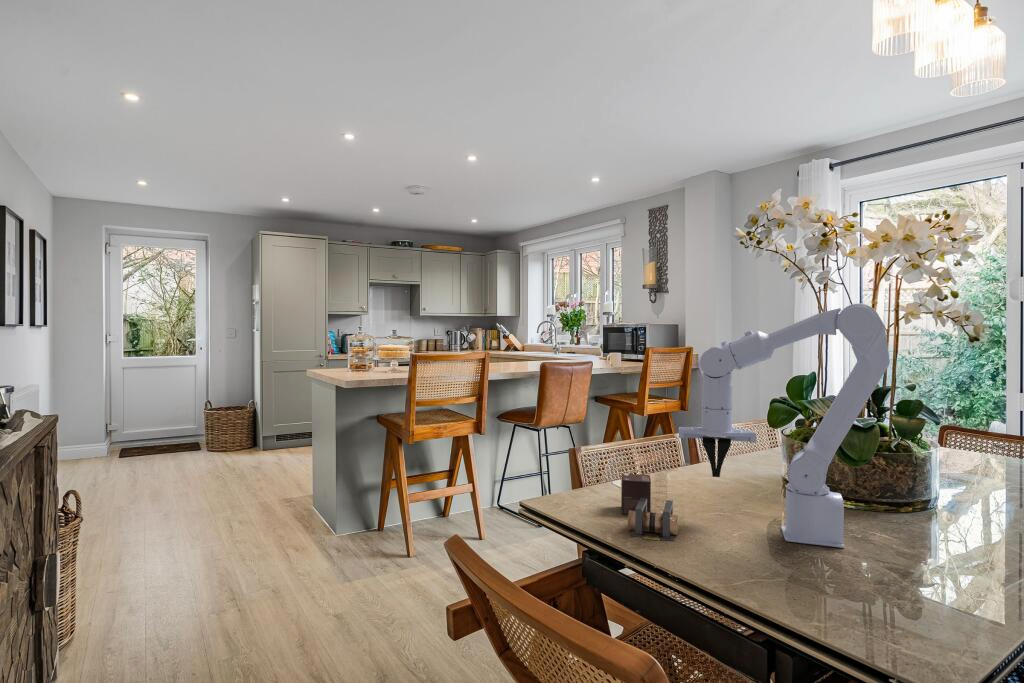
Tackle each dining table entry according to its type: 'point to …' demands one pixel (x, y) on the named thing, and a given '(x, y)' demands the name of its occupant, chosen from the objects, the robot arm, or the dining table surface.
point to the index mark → (651, 538)
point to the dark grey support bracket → (667, 521)
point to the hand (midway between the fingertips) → (716, 475)
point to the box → (635, 491)
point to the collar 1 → (639, 518)
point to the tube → (653, 522)
